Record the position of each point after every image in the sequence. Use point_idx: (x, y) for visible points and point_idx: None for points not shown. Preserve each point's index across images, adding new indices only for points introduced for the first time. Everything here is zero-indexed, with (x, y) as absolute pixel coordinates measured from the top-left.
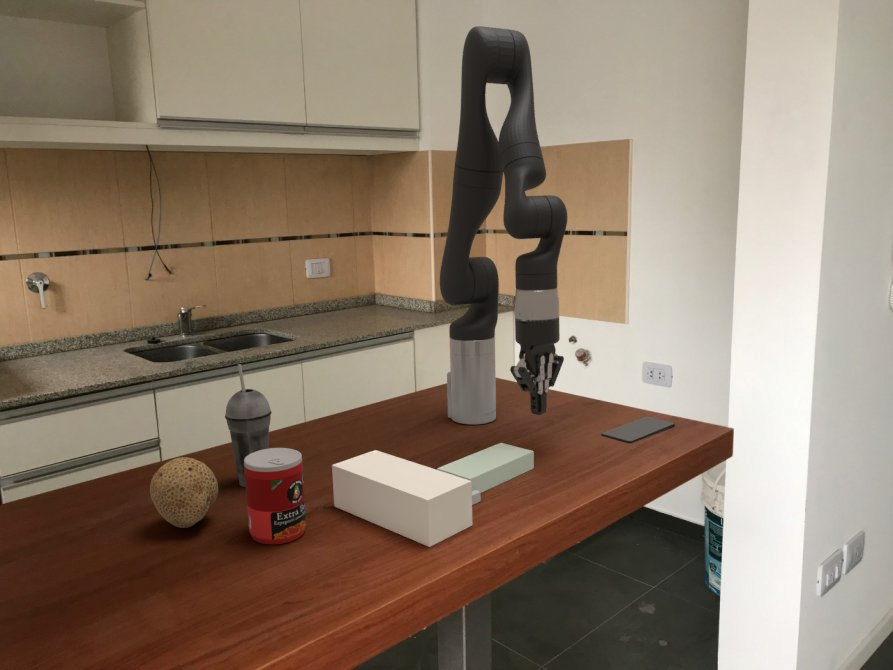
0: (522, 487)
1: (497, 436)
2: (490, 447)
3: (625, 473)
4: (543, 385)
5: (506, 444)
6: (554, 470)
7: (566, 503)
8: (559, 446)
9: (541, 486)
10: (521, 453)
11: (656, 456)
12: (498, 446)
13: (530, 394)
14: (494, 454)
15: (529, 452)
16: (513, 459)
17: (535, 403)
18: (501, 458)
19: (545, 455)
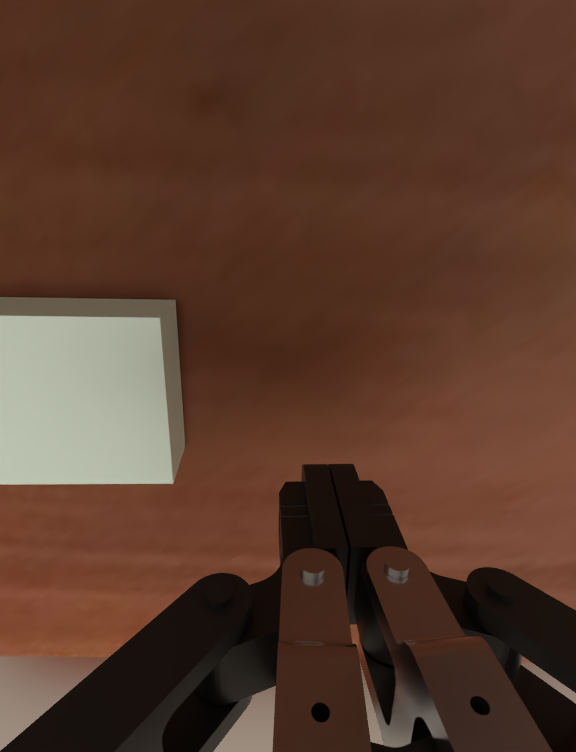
0: (32, 507)
1: (419, 71)
2: (72, 321)
3: None
4: (370, 676)
5: (158, 352)
6: (218, 500)
7: (47, 634)
8: (440, 388)
9: (84, 539)
10: (118, 463)
11: None
12: (110, 341)
13: (281, 565)
14: (20, 392)
15: (149, 480)
16: (43, 479)
17: (280, 553)
18: (12, 440)
19: (322, 403)
